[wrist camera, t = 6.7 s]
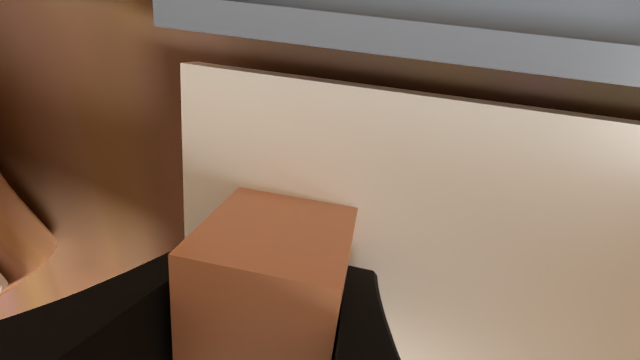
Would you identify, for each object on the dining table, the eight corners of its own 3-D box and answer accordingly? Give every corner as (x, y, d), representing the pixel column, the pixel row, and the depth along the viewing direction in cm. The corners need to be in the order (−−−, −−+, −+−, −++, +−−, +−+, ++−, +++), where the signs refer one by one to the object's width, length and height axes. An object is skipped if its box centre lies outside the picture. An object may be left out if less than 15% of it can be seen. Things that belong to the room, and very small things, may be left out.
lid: (793, 141, 8) (1183, 234, 4) (608, 451, 11) (719, 657, 7) (197, 61, 9) (65, 72, 5) (199, 354, 13) (121, 482, 9)
